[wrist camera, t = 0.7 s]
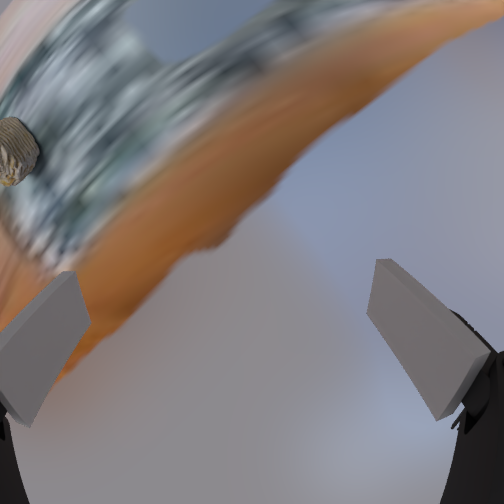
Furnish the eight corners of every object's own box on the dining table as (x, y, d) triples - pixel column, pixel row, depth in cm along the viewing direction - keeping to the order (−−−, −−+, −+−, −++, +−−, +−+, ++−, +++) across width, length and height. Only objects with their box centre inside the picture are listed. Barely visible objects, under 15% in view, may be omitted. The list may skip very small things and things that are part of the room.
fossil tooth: (19, 110, 29) (54, 162, 32) (2, 138, 30) (35, 192, 33) (-25, 102, 18) (4, 162, 21) (-41, 137, 19) (-14, 201, 22)
